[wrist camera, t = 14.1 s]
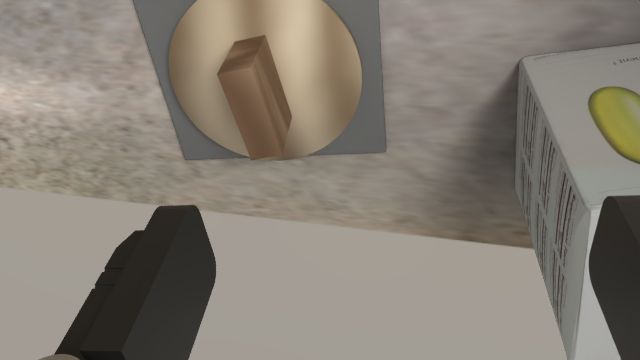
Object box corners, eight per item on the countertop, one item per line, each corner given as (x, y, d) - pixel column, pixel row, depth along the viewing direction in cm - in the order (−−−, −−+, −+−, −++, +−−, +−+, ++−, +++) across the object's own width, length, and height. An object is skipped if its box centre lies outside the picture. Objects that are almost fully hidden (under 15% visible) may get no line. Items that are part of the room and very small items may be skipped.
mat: (375, -48, 36) (375, -46, 35) (386, 148, 45) (385, 152, 45) (129, -24, 39) (126, -21, 38) (187, 156, 48) (185, 160, 48)
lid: (337, -47, 36) (330, -17, 31) (378, 138, 44) (378, 185, 39) (140, 3, 39) (103, 37, 34) (213, 165, 47) (193, 212, 42)
